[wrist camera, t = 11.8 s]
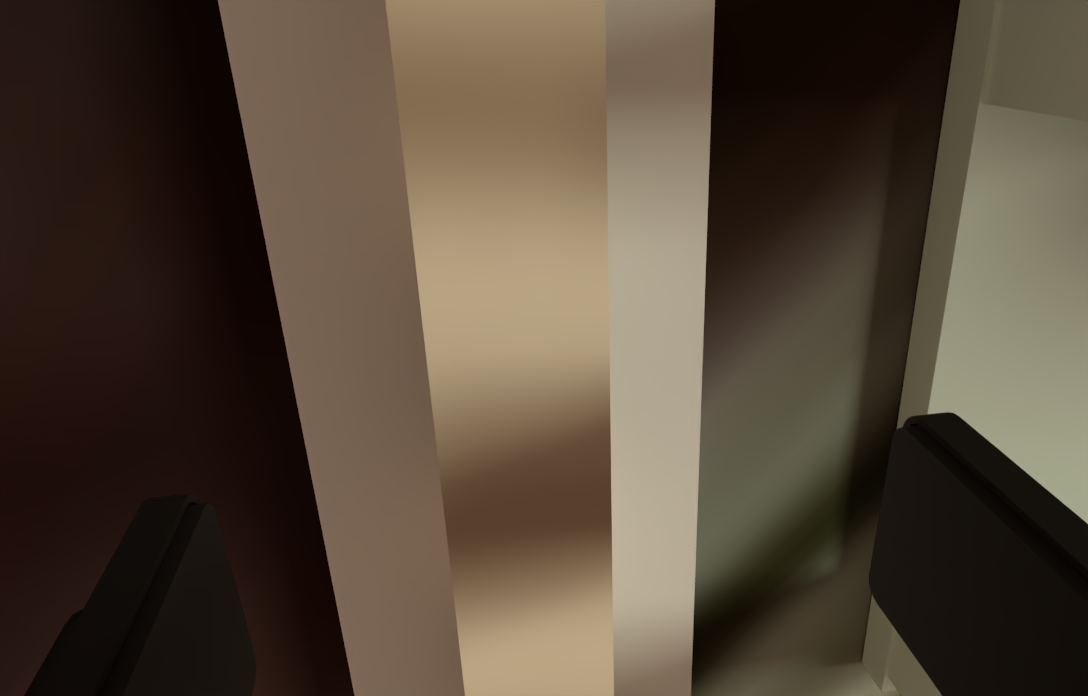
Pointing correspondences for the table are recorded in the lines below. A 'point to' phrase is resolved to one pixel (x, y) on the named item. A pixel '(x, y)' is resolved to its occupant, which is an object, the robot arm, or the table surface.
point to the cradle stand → (1005, 263)
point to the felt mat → (398, 340)
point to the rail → (515, 325)
